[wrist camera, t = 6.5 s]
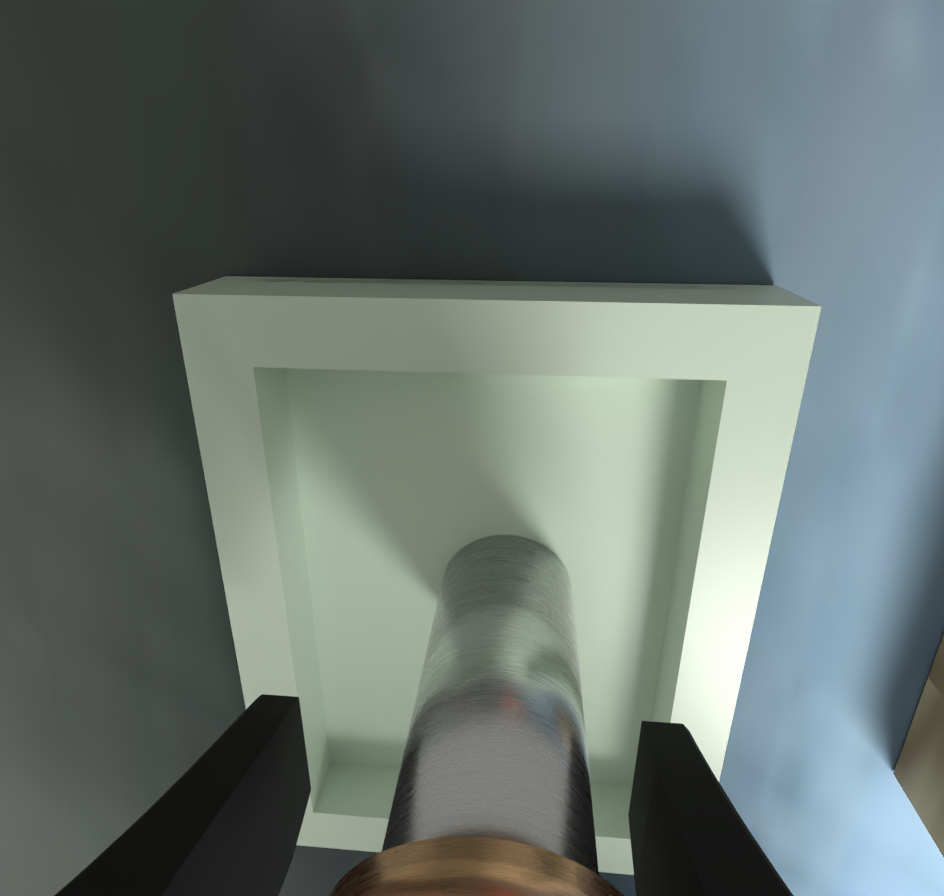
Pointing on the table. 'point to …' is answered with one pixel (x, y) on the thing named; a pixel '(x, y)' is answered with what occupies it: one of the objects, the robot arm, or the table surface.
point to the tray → (490, 497)
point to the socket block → (927, 754)
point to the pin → (494, 742)
